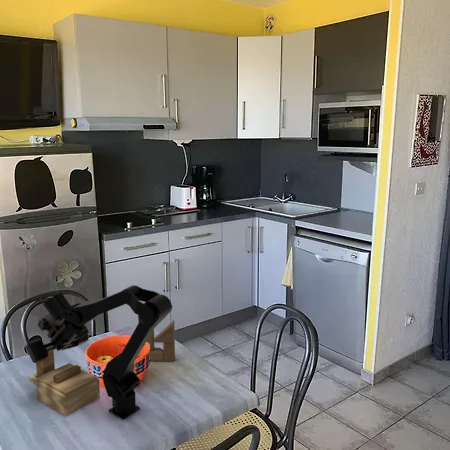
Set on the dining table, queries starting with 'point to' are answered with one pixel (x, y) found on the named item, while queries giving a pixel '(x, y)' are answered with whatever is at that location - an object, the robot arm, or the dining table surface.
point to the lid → (67, 379)
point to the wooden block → (168, 344)
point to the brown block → (46, 364)
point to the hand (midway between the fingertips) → (48, 354)
